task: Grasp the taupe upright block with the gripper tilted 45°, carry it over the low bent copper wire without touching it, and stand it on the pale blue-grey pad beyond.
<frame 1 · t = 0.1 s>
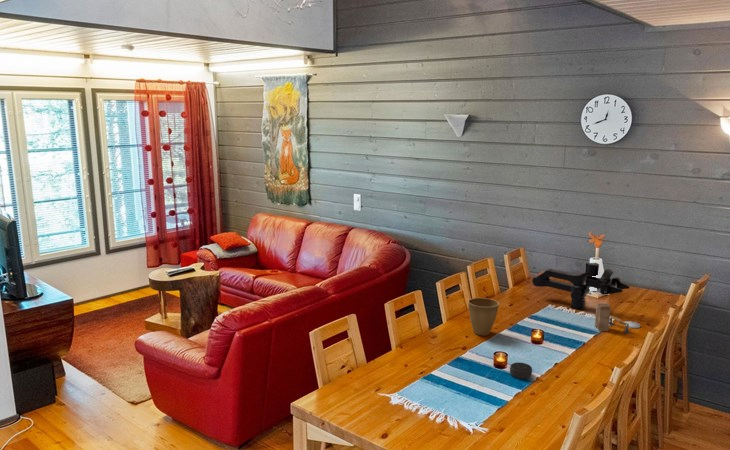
hand: (626, 289, 312), 17 cm above the table, tool horizontal, fingers open, 9 cm apart
plant pot: (481, 333, 293), on the table
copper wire: (618, 328, 302), on the table
smart speaker: (520, 375, 247), on the table
jar: (590, 290, 368), on the table
taupe upright block: (601, 329, 300), on the table
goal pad: (631, 325, 306), on the table
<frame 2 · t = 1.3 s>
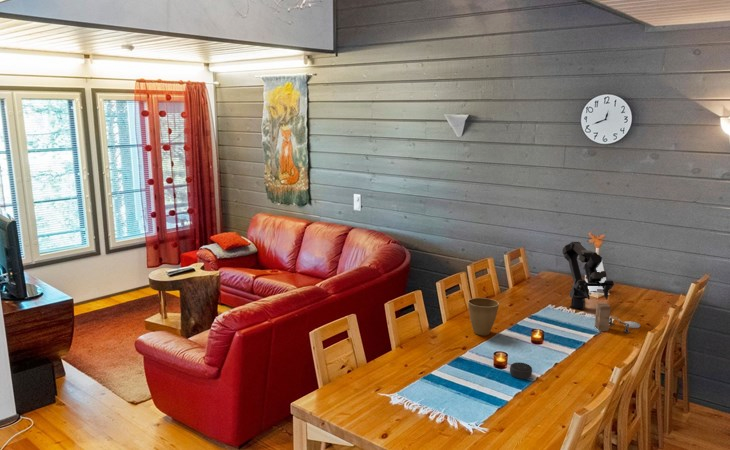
hand: (597, 299, 305), 13 cm above the table, tool tilted 45°, fingers open, 9 cm apart
nothing on the table moved.
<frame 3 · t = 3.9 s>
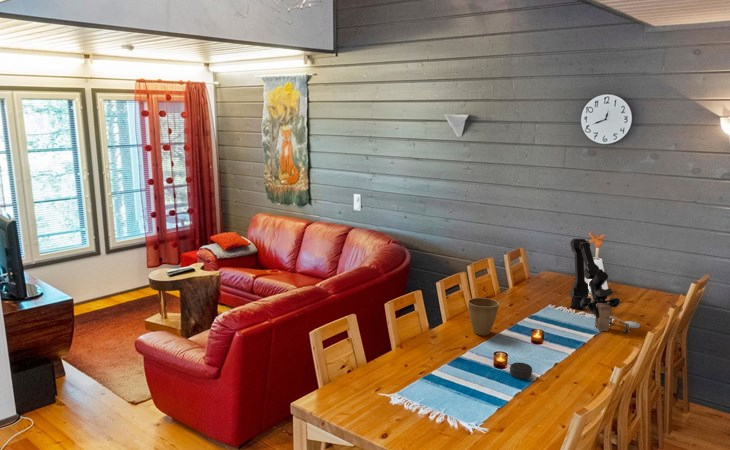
hand: (603, 317, 298), 7 cm above the table, tool tilted 45°, fingers closed on taupe upright block, 5 cm apart
taupe upright block: (601, 329, 300), on the table, touching gripper
everything else where it was.
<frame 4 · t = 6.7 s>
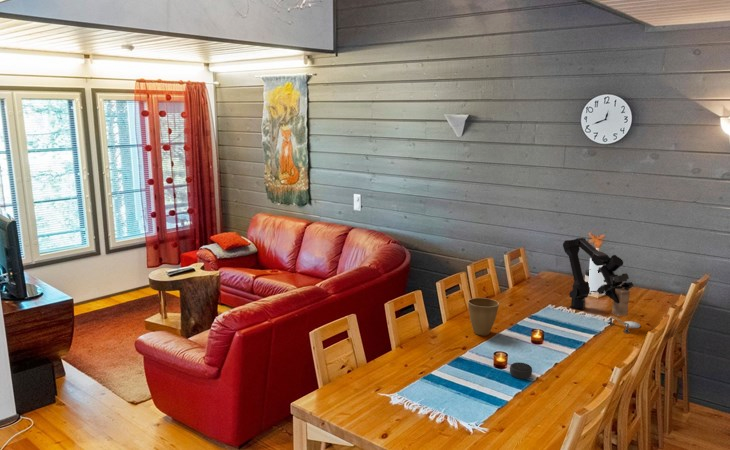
hand: (622, 302, 300), 13 cm above the table, tool tilted 45°, fingers closed on taupe upright block, 5 cm apart
taupe upright block: (619, 314, 302), point 7 cm above the table, touching gripper
everything else where it was.
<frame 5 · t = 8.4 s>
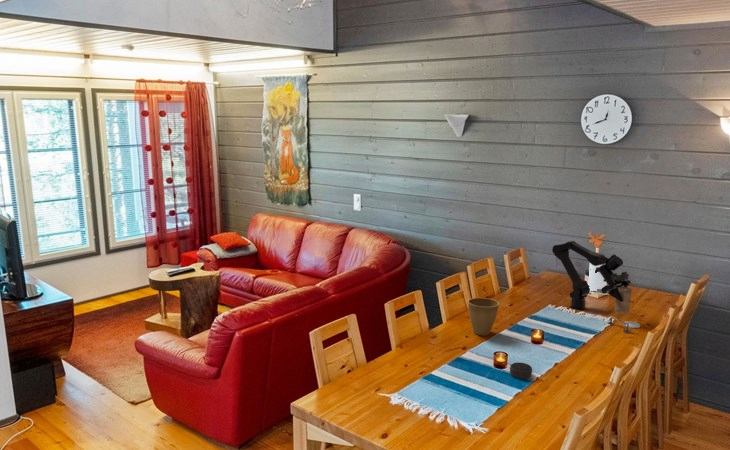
hand: (625, 300, 308), 12 cm above the table, tool tilted 45°, fingers closed on taupe upright block, 5 cm apart
taupe upright block: (621, 312, 310), point 5 cm above the table, touching gripper
everything else where it was.
when the fingers open (9 cm above the table, at t = 9.9 s): taupe upright block drops 1 cm, resting on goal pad.
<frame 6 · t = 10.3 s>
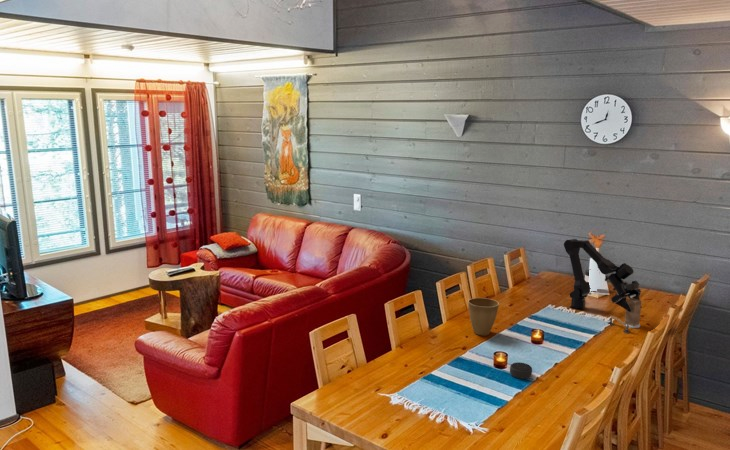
hand: (635, 309, 303), 9 cm above the table, tool tilted 45°, fingers open, 9 cm apart
taupe upright block: (631, 323, 306), point 1 cm above the table, touching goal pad
everything else where it was.
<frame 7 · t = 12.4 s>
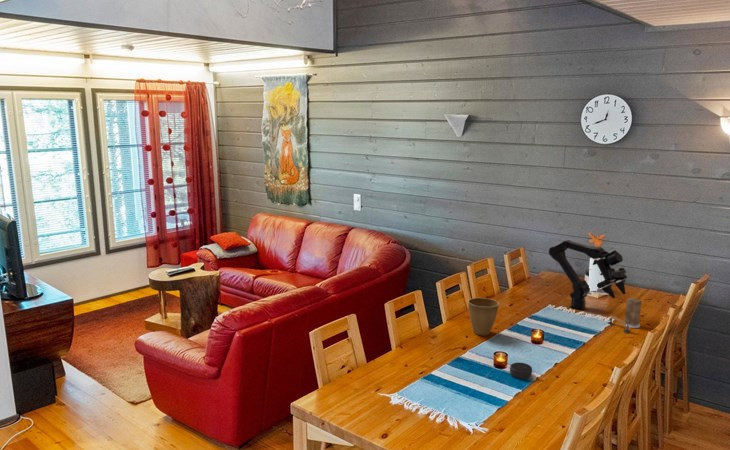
hand: (619, 296, 313), 13 cm above the table, tool tilted 35°, fingers open, 9 cm apart
nothing on the table moved.
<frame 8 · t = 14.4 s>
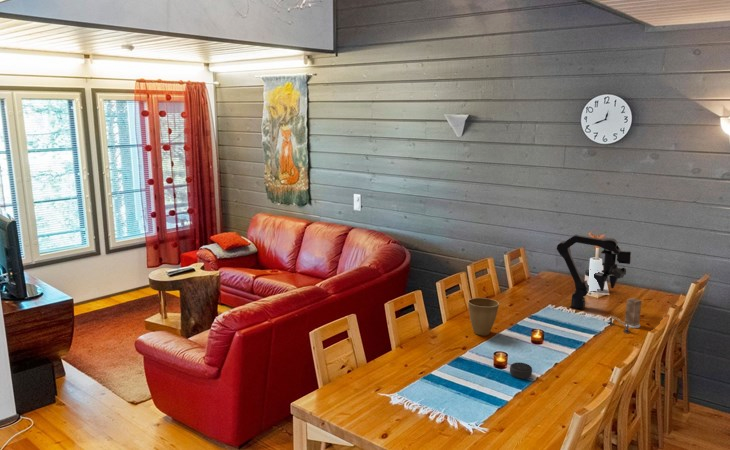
hand: (607, 289, 324), 13 cm above the table, tool pointing down, fingers open, 9 cm apart
nothing on the table moved.
at the end: taupe upright block 0.0 cm off-centre on the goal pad, point 0.8 cm above the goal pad's base; taupe upright block tilted 0°; taupe upright block touching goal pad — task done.
